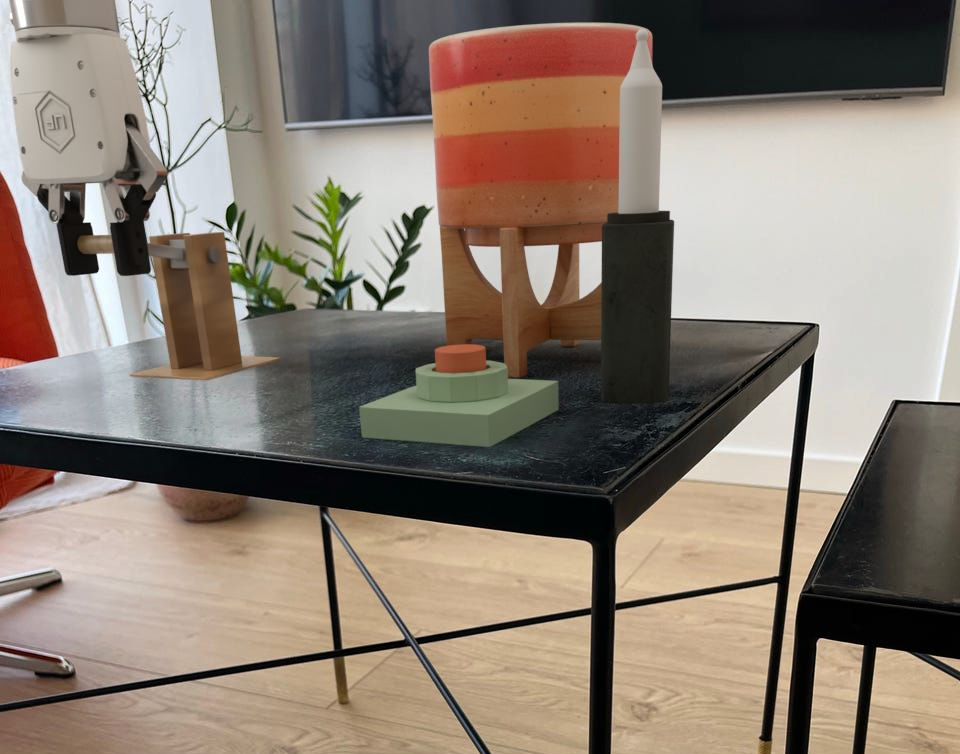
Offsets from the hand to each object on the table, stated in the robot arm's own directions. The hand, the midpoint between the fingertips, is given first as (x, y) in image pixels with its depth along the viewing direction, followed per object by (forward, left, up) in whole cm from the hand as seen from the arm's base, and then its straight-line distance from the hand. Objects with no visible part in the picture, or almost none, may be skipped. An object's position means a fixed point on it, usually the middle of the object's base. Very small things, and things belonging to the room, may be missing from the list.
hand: (108, 272), depth 84 cm
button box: (-1, -33, -11) cm, 35 cm away
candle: (+11, -42, -11) cm, 45 cm away
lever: (+5, 0, 0) cm, 5 cm away
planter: (+26, -28, -11) cm, 40 cm away
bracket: (+10, 0, -11) cm, 15 cm away
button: (-1, -33, -7) cm, 34 cm away
